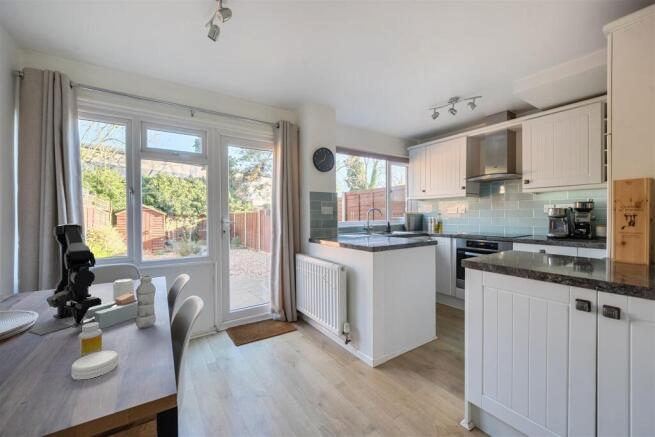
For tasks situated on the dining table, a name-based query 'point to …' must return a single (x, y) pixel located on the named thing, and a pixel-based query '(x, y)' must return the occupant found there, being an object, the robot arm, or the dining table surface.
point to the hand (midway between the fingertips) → (78, 322)
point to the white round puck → (94, 364)
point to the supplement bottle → (90, 339)
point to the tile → (124, 299)
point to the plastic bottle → (145, 303)
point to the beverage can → (123, 287)
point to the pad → (50, 328)
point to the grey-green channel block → (112, 313)
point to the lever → (90, 319)
